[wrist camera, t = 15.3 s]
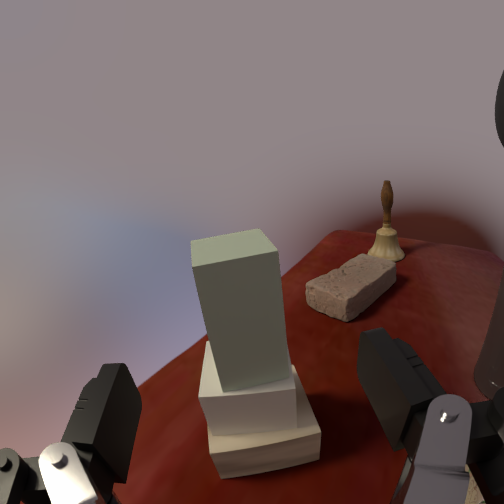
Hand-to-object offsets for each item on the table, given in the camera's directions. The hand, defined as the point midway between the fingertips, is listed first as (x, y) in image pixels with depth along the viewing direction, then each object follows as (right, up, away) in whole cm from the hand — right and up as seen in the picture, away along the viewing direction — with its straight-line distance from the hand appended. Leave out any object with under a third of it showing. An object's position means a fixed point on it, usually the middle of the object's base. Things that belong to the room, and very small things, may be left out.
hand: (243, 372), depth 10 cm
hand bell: (+29, +3, +54) cm, 61 cm away
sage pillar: (0, -5, +14) cm, 15 cm away
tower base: (+1, -14, +17) cm, 22 cm away
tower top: (0, -9, +16) cm, 19 cm away
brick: (+17, -4, +41) cm, 45 cm away
